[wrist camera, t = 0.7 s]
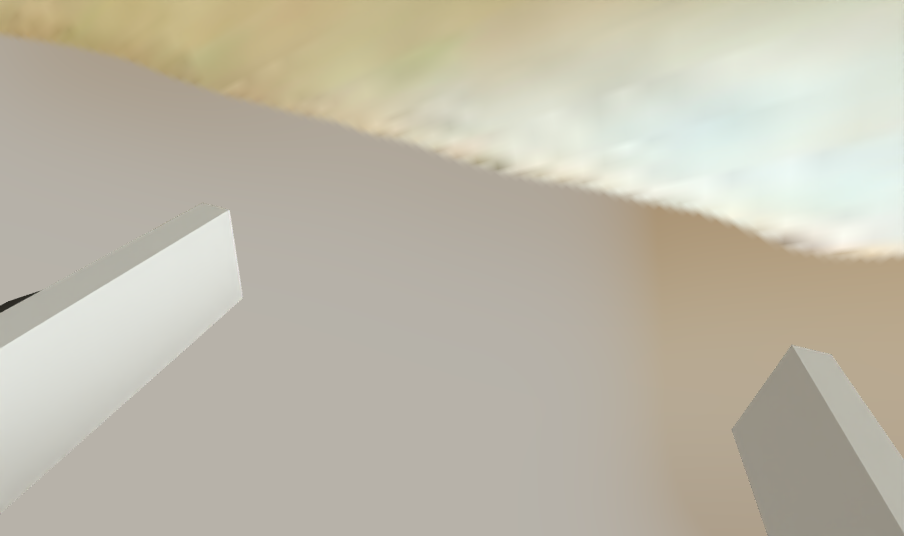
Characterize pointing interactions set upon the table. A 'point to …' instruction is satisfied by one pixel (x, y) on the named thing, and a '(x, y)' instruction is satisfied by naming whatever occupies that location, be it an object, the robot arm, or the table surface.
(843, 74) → the table surface
